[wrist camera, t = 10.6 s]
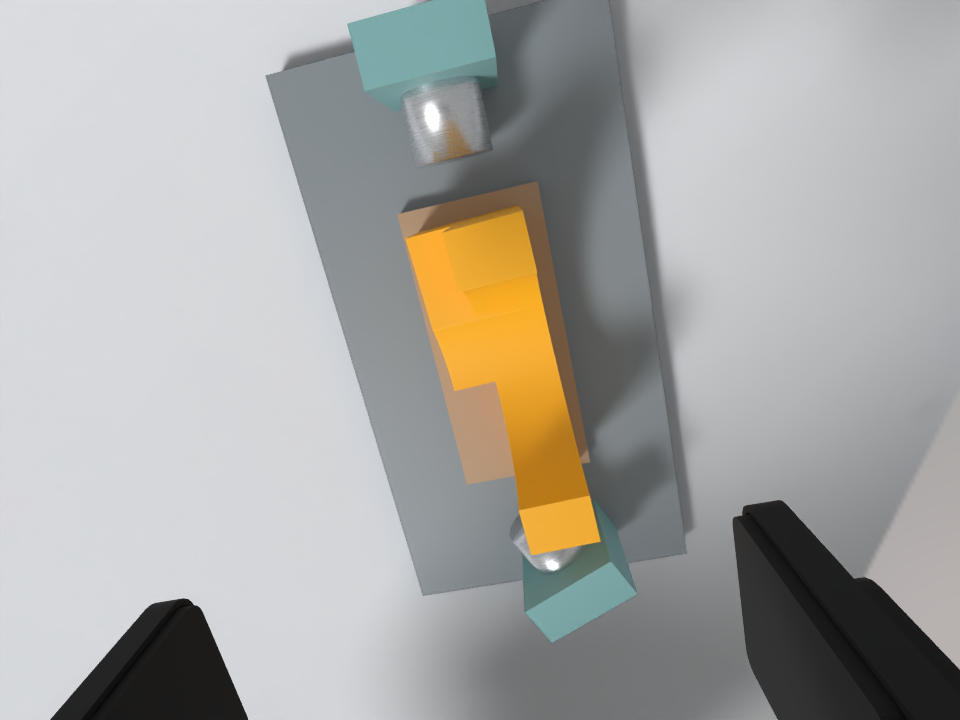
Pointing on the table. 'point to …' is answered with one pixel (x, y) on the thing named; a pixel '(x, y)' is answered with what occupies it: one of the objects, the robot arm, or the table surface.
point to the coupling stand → (560, 271)
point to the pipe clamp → (508, 362)
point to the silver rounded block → (446, 120)
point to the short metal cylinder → (543, 561)
